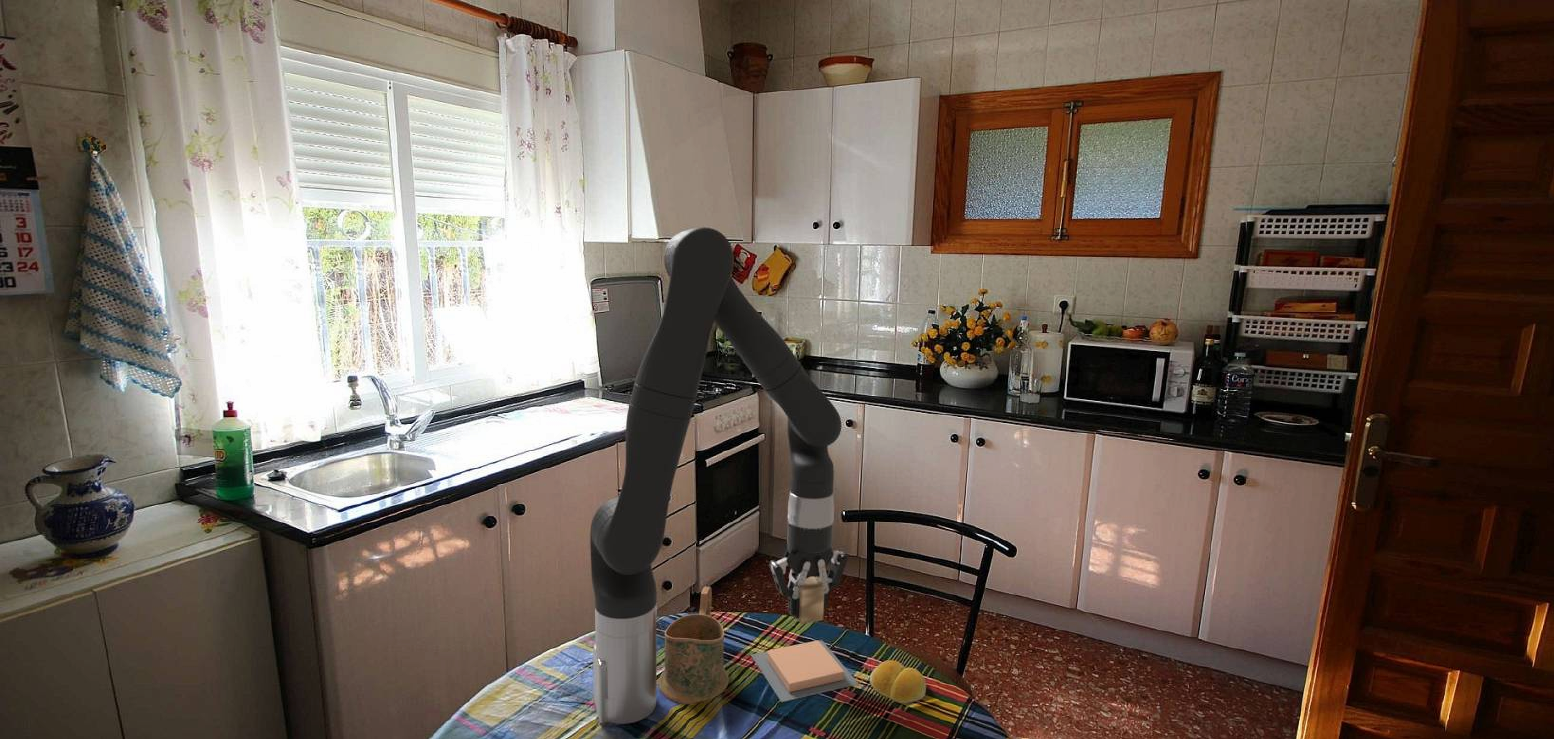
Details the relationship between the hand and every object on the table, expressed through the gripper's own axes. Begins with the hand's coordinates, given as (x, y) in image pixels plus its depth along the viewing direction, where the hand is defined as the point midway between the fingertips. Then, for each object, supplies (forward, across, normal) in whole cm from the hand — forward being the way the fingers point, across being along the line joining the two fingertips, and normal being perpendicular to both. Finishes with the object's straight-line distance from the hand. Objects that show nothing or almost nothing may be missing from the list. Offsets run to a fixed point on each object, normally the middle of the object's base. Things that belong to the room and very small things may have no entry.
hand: (807, 613), depth 120 cm
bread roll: (+11, -13, +9) cm, 19 cm away
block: (0, 0, 0) cm, 0 cm away
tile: (+10, 0, -5) cm, 11 cm away
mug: (+11, +17, -6) cm, 21 cm away
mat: (+11, 0, 0) cm, 11 cm away
